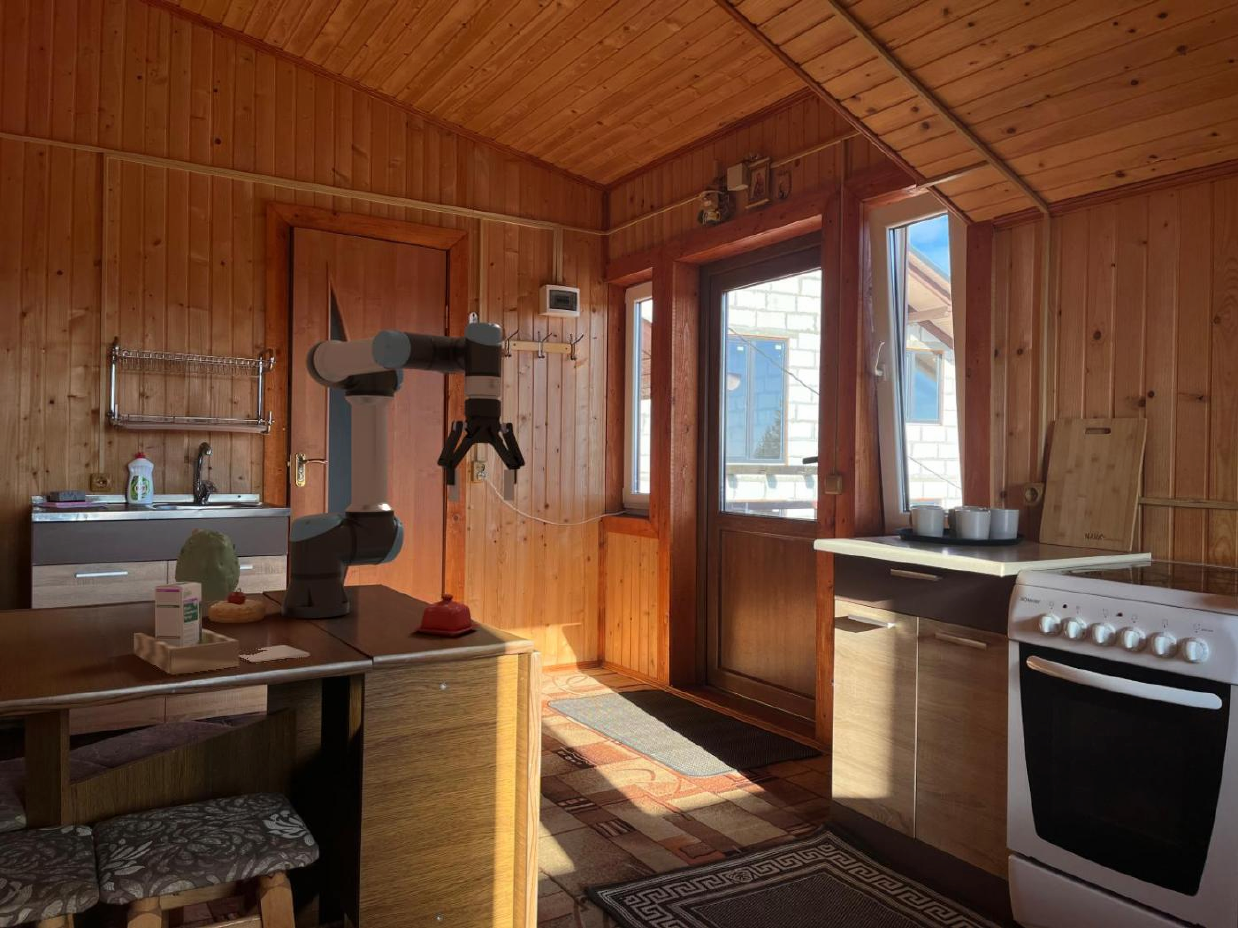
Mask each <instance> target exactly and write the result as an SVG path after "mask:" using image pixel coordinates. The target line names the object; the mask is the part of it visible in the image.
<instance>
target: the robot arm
mask: <svg viewBox="0 0 1238 928" xmlns="http://www.w3.org/2000/svg"><path fill="white" fill-rule="evenodd" d="M463 335H464V336H457V337H456V336H445V335H435V334H428V333H427V334H426V333H425V334H423V333H416V332H410V331H409V332H408V331H402V330H400V329H399V330H398V329H397V330H396V329H390V330H387V329H383V330H382V329H381V330H380V331H378V332H377V333H376V335H375V336H371V337H367V338H361V339H354V340H350V341H346V340H339V339H338V340H337V339H329V340H328V339H327V340H322V341H319V342H317V343H315V344H314V345H312V347H310V349H309V351H308V352H307V354H306V358H305V367H306V369H307V373H308V375H309V376H310V377H311V379H313V381H315V382H316V383H318V384H319V385H320V386H323V387H326V388H329V389H334V390H344V398H345V400H346V401H347V402H348V403H349V404H350V405H351V503H350V504H349V506H348V507H346V508H345V510H344V516H345V517H344V516H343V514H342V513H341V512H336V511H335V512H323V513H322V512H321V513H314V514H308V515H304V516H300V517H296V518H295V519H293V520H292V521H291V524H290V530H289V537H288V540H289V583H288V586H287V589H286V592H285V594H284V598H283V600H282V601H283V602H282V604H281V616H283V617H286V618H293V619H295V618H296V619H318V618H319V619H321V618H330V617H331V618H333V617H339V616H343V615H347V614H349V613H350V601H349V599H348V595H347V593H346V589H345V587H344V583H343V580H342V579H343V577H342V576H343V575H342V573H343V572H342V571H343V567H357V566H371V565H372V566H379V565H380V564H389V563H391V562H393V561H394V560H395V559H396V558H397V557H398V555H400V552H401V551H402V548H403V544H404V540H405V528H404V526H403V522H402V520H401V518H400V517H398V516H396V515H395V509H394V508H393V507H392V505H390V504H389V502H388V501H389V498H388V494H389V493H388V491H389V489H388V486H389V484H388V483H389V482H388V480H389V479H388V477H389V473H388V471H389V469H388V468H389V467H388V466H389V464H388V461H389V460H388V458H389V457H388V456H389V455H388V454H389V452H388V451H389V449H388V445H389V444H388V439H389V437H388V433H389V429H388V428H389V427H388V425H389V424H388V420H389V419H388V418H389V417H388V415H389V414H388V413H389V412H388V409H389V408H388V406H389V405H390V403H392V401H394V399H395V393H397V392H399V390H400V389H401V388H402V386H403V385H402V383H403V382H404V379H405V378H404V377H405V373H404V372H405V370H419V371H427V372H428V371H429V372H438V373H440V374H444V375H456V374H460V373H464V389H463V390H464V391H463V392H464V393H463V394H464V396H465V397H466V399H465V400H464V417H465V420H464V421H463V420H460V419H459V420H453V421H451V425H450V432H449V434H448V437H447V439H446V441H445V443H444V446H443V448H442V450H441V452H440V455H439V457H438V459H437V460H436V461H437V462H436V463H437V466H439V467H442V468H443V470H445V479H446V480H445V484H446V486H448V502H451V503H460V498H461V497H460V488H461V485H460V483H461V482H460V477H461V476H460V473H461V472H460V471H461V470H460V469H456V468H458V466H459V465H460V464H461V462H462V460H463V459H464V458H465V456H466V455H467V453H468V452H469V451H470V450H471V448H472V446H474V445H475V444H489V445H490V446H491V447H493V450H495V452H496V453H497V456H499V458H500V459H501V460H502V462H503V464H504V465H505V467H506V468H507V469H503V501H508V502H509V501H513V502H514V501H515V485H517V483H518V476H517V475H518V470H520V469H521V467H524V466H526V462H525V459H524V457H523V454H522V451H521V448H520V446H519V443H518V441H517V438H516V436H515V433H514V425H513V422H503V423H501V421H500V418H501V416H502V401H501V399H499V398H500V397H501V396H502V363H503V362H502V361H503V360H502V358H503V357H502V355H503V353H502V352H503V351H502V350H503V342H502V340H503V339H502V328H501V327H500V325H498V324H496V323H492V322H479V321H478V322H477V321H476V322H470V323H467V325H465V328H464V334H463ZM464 431H465V432H466V434H465V435H464V436H463V437H462V440H461V442H460V444H459V445H458V443H459V441H460V438H461V436H462V434H463V432H464ZM500 432H501V434H502V437H501V435H500ZM504 442H505V443H504Z"/></svg>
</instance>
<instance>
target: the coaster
mask: <svg viewBox="0 0 1238 928" xmlns="http://www.w3.org/2000/svg"><path fill="white" fill-rule="evenodd" d="M260 648H261V649H258V650H267V651H263V652H260V653H257V654H254V655H252V654H251V655H245V654H244V655H239V657H241V658H244V659H246V660H249V661H250V662H261V661H270V660H276V659H285V658H295V659H302V658H309V657H308V656H310V655H311V653H310V652H307V651H304V650H302V649H298V648H295V647H292V646H288V645H285V644H280V645H274V646H266V647H260ZM299 657H300V658H299ZM301 657H302V658H301ZM247 658H248V659H247Z"/></svg>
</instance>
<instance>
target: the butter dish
mask: <svg viewBox="0 0 1238 928" xmlns="http://www.w3.org/2000/svg"><path fill="white" fill-rule="evenodd" d="M441 598H442V600H440V601H436V602H433V603H431V604H430V605H428V606H426V607H425V609H424V611H423V614H422V618H421V621H420V625H418V626H416V627H414V628H413V630H414V631H417V632H420V633H423V634H431V635H438V636H446V635H449V636H448V637H455V636H458V635H461V634H463V633H466V632H469V631H470V630H474V629H476V628H478V627H480V624H479V623H478V624H477V623H473V622H472V614H471V610H470V607H469V606H468V605H467V604H464V603H462V602H457V601H453V599H454V595H453V594H451V593H443V594H442V595H441ZM454 635H455V636H454Z"/></svg>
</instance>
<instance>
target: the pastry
mask: <svg viewBox="0 0 1238 928" xmlns="http://www.w3.org/2000/svg"><path fill="white" fill-rule="evenodd" d="M266 608H267V607H266V604H265V602H264V601H262V600H257V599H254V600H252V599H247V595H246V593H244V592H242V588H241V587H238V588H236V589H235V591H234V592H232V593H230V594H229V595H228V596H227V600H226V601H220V602H218V603H214V604H212V605H210V606H209V608H208V620H209V619H210V620H209V621H210V622H213V621H214V622H215V623H221V624H239V623H252V622H253V623H254V622H258V621H261V620H263V619H265V616H266V610H267V609H266Z"/></svg>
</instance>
